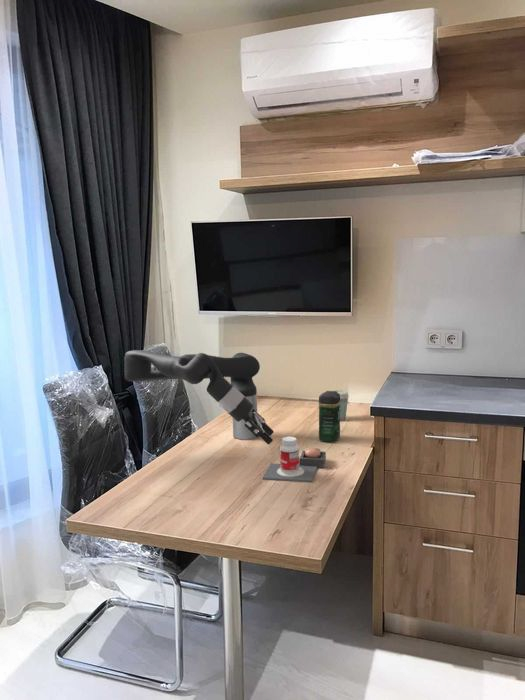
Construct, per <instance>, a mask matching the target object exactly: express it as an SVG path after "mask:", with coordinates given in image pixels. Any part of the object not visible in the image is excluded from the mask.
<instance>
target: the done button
mask: <svg viewBox="0 0 525 700" xmlns="http://www.w3.org/2000/svg"><path fill="white" fill-rule="evenodd" d="M304 451H305V456H306V457H308V458H318V457H320V451H321V449H320V448H319V447H315V446H314V447H307V448H305V449H304Z"/></svg>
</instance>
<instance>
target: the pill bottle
mask: <svg viewBox="0 0 525 700" xmlns="http://www.w3.org/2000/svg"><path fill="white" fill-rule="evenodd" d="M281 443H282V444H281V445H280V447H279V457H280V458H279V460H280V463H279V464H280V466H281V471H282V472H283V473H285V474H294V473H297V472H298V471H299V458H300V447H299V445H298V444H297V438H296V437H294V436H283V437H282V438H281Z"/></svg>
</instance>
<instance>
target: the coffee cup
mask: <svg viewBox="0 0 525 700" xmlns="http://www.w3.org/2000/svg"><path fill="white" fill-rule="evenodd" d="M334 391H336V392H337V393H339V394H340V422H343V421H346V420H345V419H347V418H346V417H347V411H348V410H347V409H348V399H349V394H348V391H347V390H339V389H338V390H334Z"/></svg>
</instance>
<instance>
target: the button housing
mask: <svg viewBox="0 0 525 700" xmlns="http://www.w3.org/2000/svg"><path fill="white" fill-rule="evenodd" d="M326 458H327V452H326V451H322V450H320V457H318V458H308V457H306V456H305V450H302V452H301V454H300V455H299V465H304V466H317V469H324V466H325V463H326V460H327V459H326Z"/></svg>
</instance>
